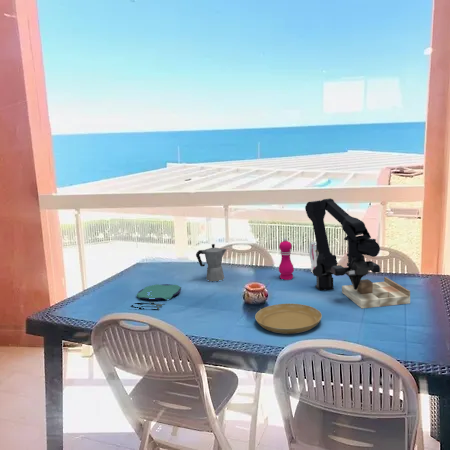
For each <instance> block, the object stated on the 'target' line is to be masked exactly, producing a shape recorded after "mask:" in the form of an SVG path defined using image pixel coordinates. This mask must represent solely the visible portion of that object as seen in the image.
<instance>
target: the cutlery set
mask: <svg viewBox="0 0 450 450" xmlns="http://www.w3.org/2000/svg"><path fill="white" fill-rule="evenodd" d="M181 290H182V286H179V284H167V283H166V284H159V283H158V284H157V283H156V284H152V285H149V286H145V287H143V288H142V289H141V290H139V291H138V292H137V294H136V297H137V298H138V299H139V298H141V300H147V299H148V301H149V300H150V301H149V303H151V302H152V303H154V302H155V300H157V301H158V300H166V301H168V300H167V299H170V300H171V299H172V298H173V297H174V296H176V295H178V294H179V293H181ZM150 291H152V292H150ZM147 292H150V295H149V296H148V295H147V294H148V293H147ZM151 295H152V296H151ZM149 298H155V299H149ZM155 305H156V306H155V307H156V308H157V309H159V308H160V307H161V306H162V305H164V304H155ZM162 307H163V306H162ZM139 308H140V307H139ZM159 310H160V309H159Z"/></svg>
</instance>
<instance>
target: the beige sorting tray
mask: <svg viewBox="0 0 450 450" xmlns="http://www.w3.org/2000/svg"><path fill="white" fill-rule="evenodd" d="M341 293H342V294H344V295H345V296H346V297H347V298H348V299H350V301H352V302H353V303H354V304H355V305H357V306H358V307H359V308H361V309H369V308H370V309H371V308H378V307H379V308H380V307H388V306H396V305H407V304H409V305H410V304H411V290H410V289H407V288H405V287H404V286H402V285H401V284H399V283H397V282H395V281H393V280H392V279H390V278H388V277H386V276H384V277H383V281H379V282H378V281H377V282H373V293H368V294H361V293H360V292H359V291H357V290H355V289H354V287H353V285H352V284H349V285H348V284H346V285H341Z"/></svg>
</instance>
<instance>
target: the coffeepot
mask: <svg viewBox="0 0 450 450" xmlns="http://www.w3.org/2000/svg"><path fill="white" fill-rule="evenodd" d="M215 246H216V244H215V243H212V244H211V247H210V248H207V249H199V250H198V251H197V252H196V254H195V256H196V259H197V260H198V263H199V265H200V267H205V265H206V264H207V268H206V279H207V280H209V281H219V280H222V281H224V280H225V274H224V270H223V266H222V262H223V257H224V255H225V253H226V251H227V248H221V247H215ZM200 255H204V256H205V261H206V264H203V261H202V258H201V256H200ZM206 279H205V280H206ZM223 279H224V280H223ZM207 280H206V281H207ZM209 281H208V282H209ZM219 282H220V281H219Z"/></svg>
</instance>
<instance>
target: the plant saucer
mask: <svg viewBox="0 0 450 450" xmlns="http://www.w3.org/2000/svg"><path fill="white" fill-rule="evenodd" d="M254 317H255V320H256V322H257V324H259V326H261V327H262V328H263V329H265V330H267V331H268V332H272V333H276V334H283V335H292V334H293V335H294V334H301V333H304V332H308V331H310V330H312V329H314V328H315V327H316V326H318V325H319V323H320V322H321V320H322V317H323V315H322V312H321V311H320V310H319V309H318V308H315V307H313V306H310V305H307V304H302V303H301V304H300V303H279V304H273V305H272V304H271V305H268V306H265V307H263V308H261V309H260V310H258V311H257V312H256V313H255V316H254Z"/></svg>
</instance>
